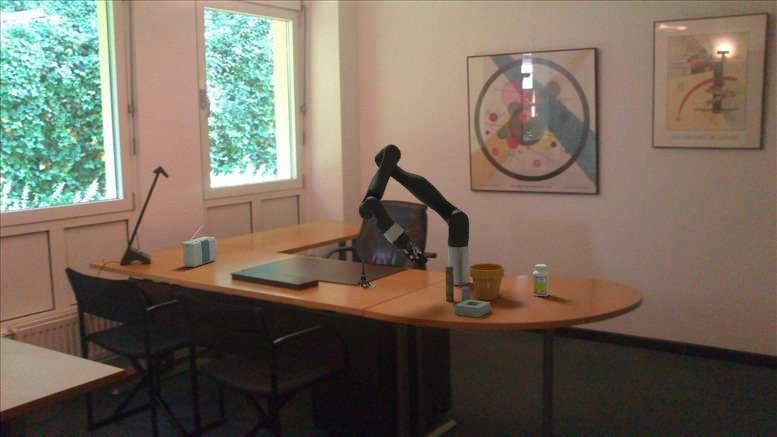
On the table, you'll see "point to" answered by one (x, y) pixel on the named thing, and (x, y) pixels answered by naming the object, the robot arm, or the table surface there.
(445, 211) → the robot arm
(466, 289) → the short grey peg
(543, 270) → the supplement bottle
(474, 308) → the hole block
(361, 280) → the eiffel tower figurine
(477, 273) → the flower pot
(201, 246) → the stereo radio cassette player
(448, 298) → the walnut peg
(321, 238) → the table surface
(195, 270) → the table surface
